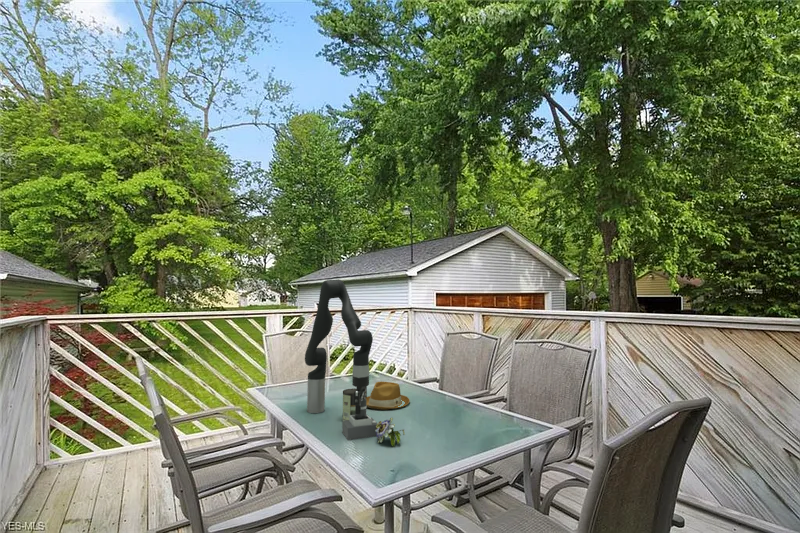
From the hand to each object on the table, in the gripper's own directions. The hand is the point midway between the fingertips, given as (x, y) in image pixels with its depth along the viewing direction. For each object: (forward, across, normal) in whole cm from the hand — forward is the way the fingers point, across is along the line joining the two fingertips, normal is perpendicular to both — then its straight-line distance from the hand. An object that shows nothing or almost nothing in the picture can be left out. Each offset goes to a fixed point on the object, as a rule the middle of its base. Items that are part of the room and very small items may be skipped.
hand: (360, 411), depth 178 cm
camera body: (+10, 0, 0) cm, 10 cm away
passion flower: (+10, +7, +14) cm, 19 cm away
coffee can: (+10, -19, -9) cm, 23 cm away
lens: (+5, 0, 0) cm, 5 cm away
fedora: (+11, -49, +2) cm, 50 cm away
